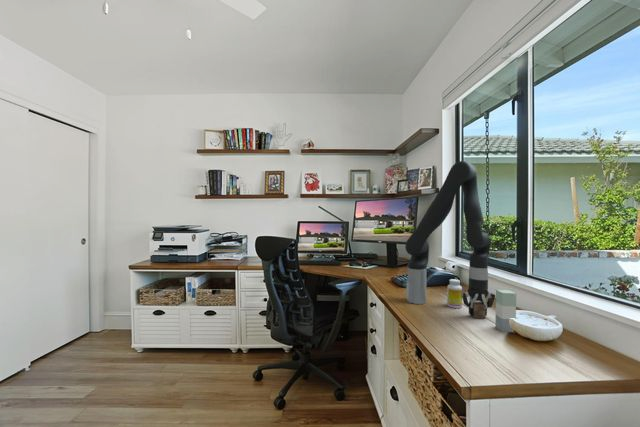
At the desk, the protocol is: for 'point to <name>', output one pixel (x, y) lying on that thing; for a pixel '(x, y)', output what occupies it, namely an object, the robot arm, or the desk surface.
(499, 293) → the tower top
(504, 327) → the tower base
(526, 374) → the desk surface
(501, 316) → the tower mid
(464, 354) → the desk surface
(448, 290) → the supplement bottle
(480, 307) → the walnut block
